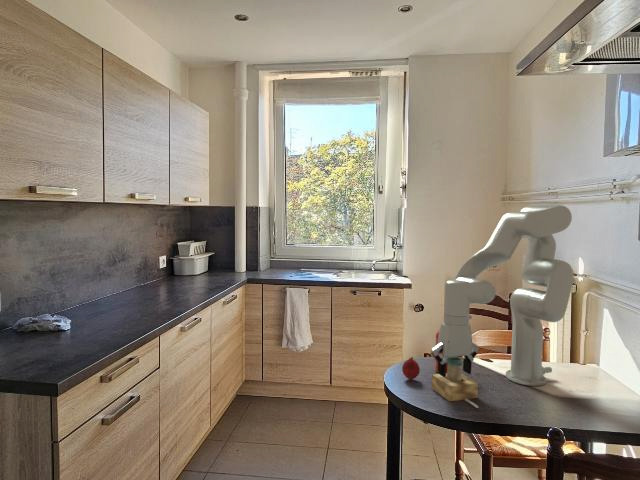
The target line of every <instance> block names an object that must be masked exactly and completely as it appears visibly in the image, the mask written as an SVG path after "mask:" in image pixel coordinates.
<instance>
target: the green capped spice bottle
mask: <svg viewBox="0 0 640 480" xmlns="http://www.w3.org/2000/svg"><path fill="white" fill-rule="evenodd" d="M462 370H463V359H462V358H460V357H459V356H458V357H448V368H447V380H449V381H450V382H452V383H454V382H461V374H462Z"/></svg>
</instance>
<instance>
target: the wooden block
mask: <svg viewBox="0 0 640 480" xmlns="http://www.w3.org/2000/svg"><path fill="white" fill-rule="evenodd" d="M430 387H431V389H432V390H433V391H435V392H436V393H438V394H439V395H440V396H441V397H443V398H444V399H446V400H447V401H448V402H455V401H463V400H464V401H465V399H466V398H467V399H468V400H470V399H471V400H472V399H476V398H478V397H479V396H478V394H479V382H477V381H475V380H473V379H471V378H470V377H468V376H466V375H464V374H463V373H461V382H454V383H452V382H450V381H449V380H447V373H446V376H445V377H443V376H441V375H440V374H438V373H434V374H431V386H430Z"/></svg>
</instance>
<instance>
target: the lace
mask: <svg viewBox="0 0 640 480" xmlns="http://www.w3.org/2000/svg"><path fill="white" fill-rule="evenodd" d="M464 402H467V403H468V404H469V405H471V406H472V407H475V408H476V409H478V408H479V405H477V404H476V403H474V402H473V401H472V400H470V399H467V398H466V399H464Z"/></svg>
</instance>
